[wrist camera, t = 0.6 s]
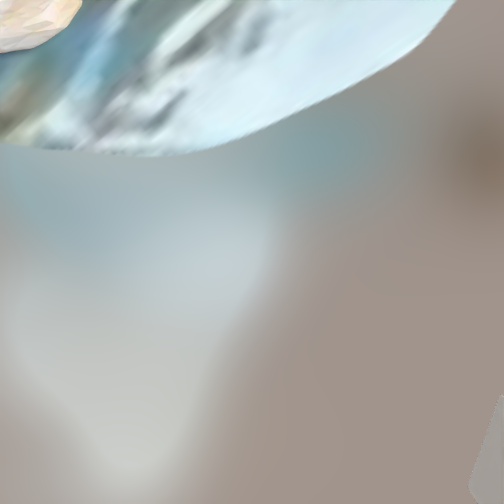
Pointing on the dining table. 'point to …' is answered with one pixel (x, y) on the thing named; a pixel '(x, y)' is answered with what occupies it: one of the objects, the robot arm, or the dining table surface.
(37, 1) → the white garlic bulb
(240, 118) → the dining table surface
